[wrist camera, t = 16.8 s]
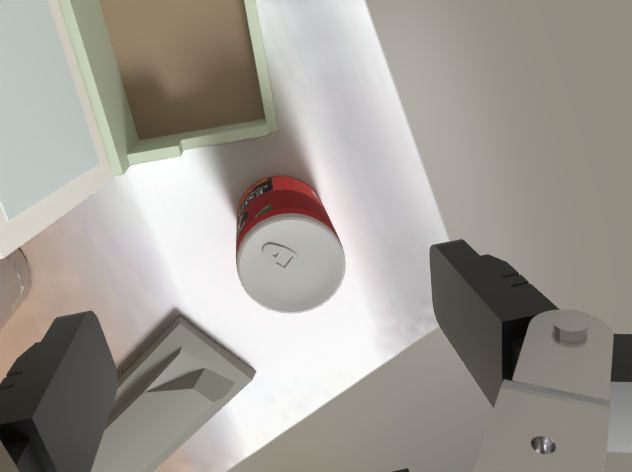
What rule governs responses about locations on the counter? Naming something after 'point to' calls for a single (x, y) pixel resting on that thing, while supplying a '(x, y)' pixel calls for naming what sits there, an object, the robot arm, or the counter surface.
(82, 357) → the robot arm
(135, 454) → the soap mold
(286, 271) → the canned food
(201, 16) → the box
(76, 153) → the glass lid
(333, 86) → the counter surface
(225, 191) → the counter surface
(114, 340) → the counter surface
